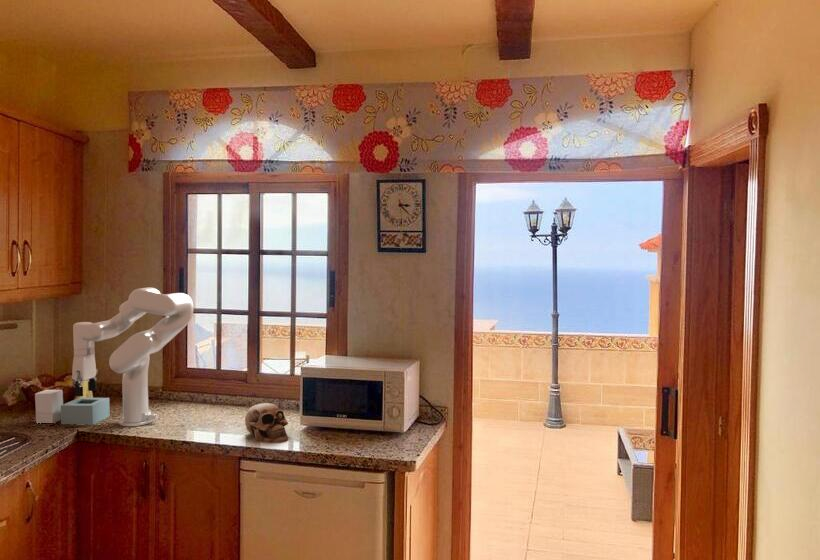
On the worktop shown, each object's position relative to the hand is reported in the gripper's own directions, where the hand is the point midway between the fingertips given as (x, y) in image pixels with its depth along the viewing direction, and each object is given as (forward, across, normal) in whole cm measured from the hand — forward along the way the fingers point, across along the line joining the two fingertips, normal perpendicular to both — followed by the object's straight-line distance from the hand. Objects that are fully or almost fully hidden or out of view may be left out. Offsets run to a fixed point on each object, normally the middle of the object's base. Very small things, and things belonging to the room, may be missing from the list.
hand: (85, 393), depth 255 cm
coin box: (+11, 0, 0) cm, 11 cm away
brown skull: (+12, +18, +81) cm, 84 cm away
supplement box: (+12, +2, -14) cm, 18 cm away
